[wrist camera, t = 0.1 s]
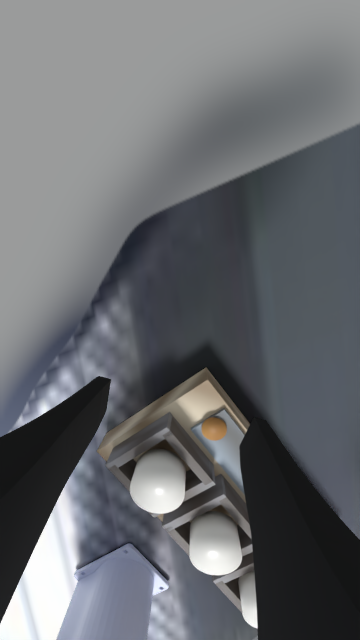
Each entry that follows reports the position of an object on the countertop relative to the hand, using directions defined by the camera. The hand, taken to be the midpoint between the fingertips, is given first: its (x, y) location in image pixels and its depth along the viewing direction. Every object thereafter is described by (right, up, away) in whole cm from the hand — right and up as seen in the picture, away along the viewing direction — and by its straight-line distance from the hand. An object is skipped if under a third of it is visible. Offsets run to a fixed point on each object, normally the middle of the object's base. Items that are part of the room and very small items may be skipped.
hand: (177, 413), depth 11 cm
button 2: (-2, -9, +9) cm, 12 cm away
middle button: (+3, -15, +10) cm, 18 cm away
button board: (+5, -13, +14) cm, 19 cm away
